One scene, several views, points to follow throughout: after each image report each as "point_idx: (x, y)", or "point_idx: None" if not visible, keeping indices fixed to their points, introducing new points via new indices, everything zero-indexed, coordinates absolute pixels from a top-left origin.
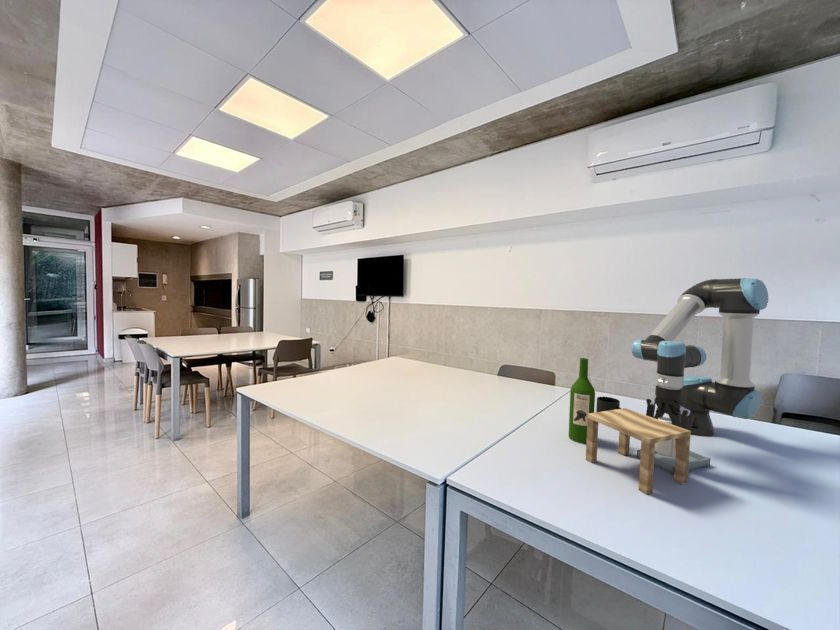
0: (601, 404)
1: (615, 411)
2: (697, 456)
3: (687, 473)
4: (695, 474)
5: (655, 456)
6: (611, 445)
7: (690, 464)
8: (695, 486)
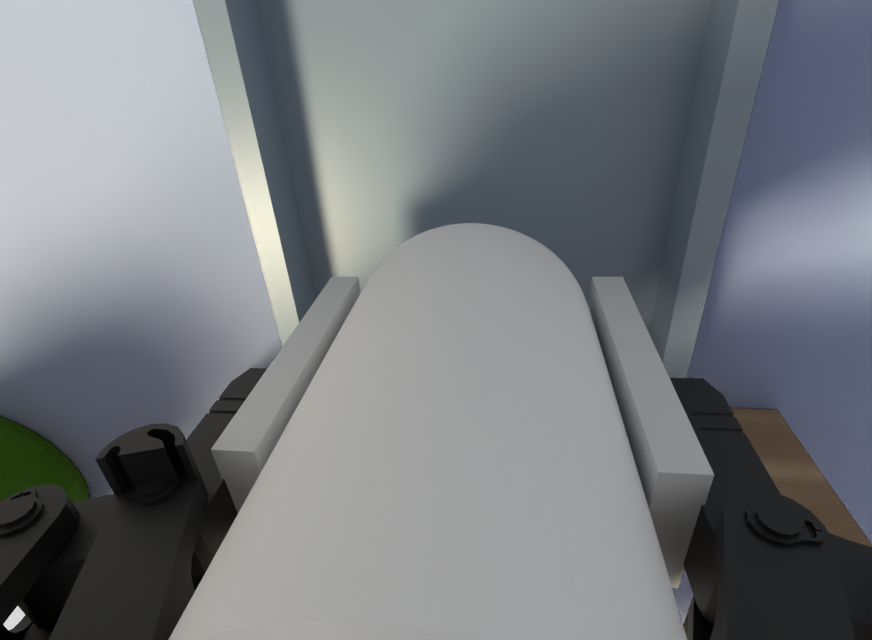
0: None
1: None
2: None
3: (819, 478)
4: (762, 194)
5: (377, 265)
6: (107, 375)
7: (724, 199)
8: (840, 401)
